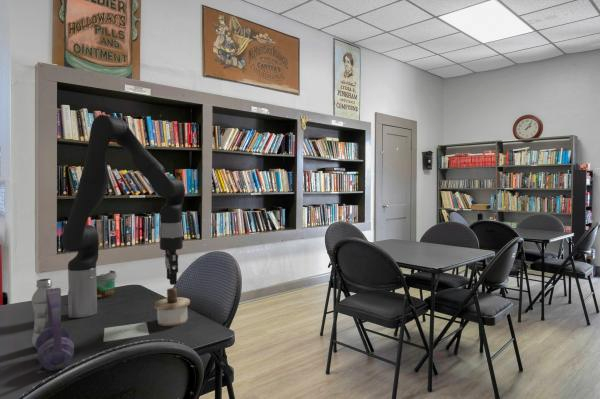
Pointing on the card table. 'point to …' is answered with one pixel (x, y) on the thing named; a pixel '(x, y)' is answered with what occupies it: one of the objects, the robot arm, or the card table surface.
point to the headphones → (54, 336)
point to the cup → (172, 316)
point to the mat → (125, 331)
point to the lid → (171, 301)
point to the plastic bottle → (40, 308)
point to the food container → (106, 284)
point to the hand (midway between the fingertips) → (171, 281)
